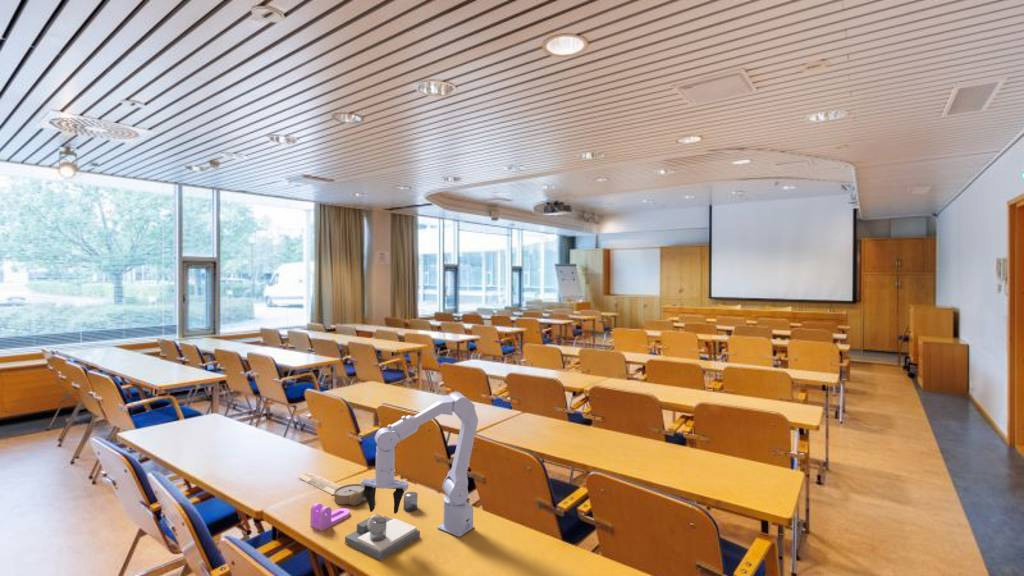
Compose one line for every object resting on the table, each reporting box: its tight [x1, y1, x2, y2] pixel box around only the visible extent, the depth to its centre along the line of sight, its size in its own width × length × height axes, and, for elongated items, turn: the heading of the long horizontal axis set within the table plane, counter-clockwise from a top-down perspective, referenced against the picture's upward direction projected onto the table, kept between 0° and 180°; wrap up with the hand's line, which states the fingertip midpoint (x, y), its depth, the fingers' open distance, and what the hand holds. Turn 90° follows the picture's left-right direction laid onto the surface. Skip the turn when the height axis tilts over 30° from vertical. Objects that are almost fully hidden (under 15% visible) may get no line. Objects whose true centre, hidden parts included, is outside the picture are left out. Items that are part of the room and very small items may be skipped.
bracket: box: [309, 502, 351, 531], centre depth 164 cm, size 13×6×7 cm, turn 150°
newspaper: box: [298, 472, 342, 496], centre depth 191 cm, size 24×7×2 cm, turn 53°
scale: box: [344, 513, 421, 561], centre depth 152 cm, size 16×16×6 cm
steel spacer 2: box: [403, 491, 418, 513], centre depth 173 cm, size 5×5×5 cm
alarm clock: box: [330, 483, 367, 507], centre depth 179 cm, size 11×5×15 cm
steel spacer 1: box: [370, 516, 387, 542], centre depth 148 cm, size 5×5×5 cm
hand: (384, 511), depth 152 cm, fingers open, 7 cm apart
